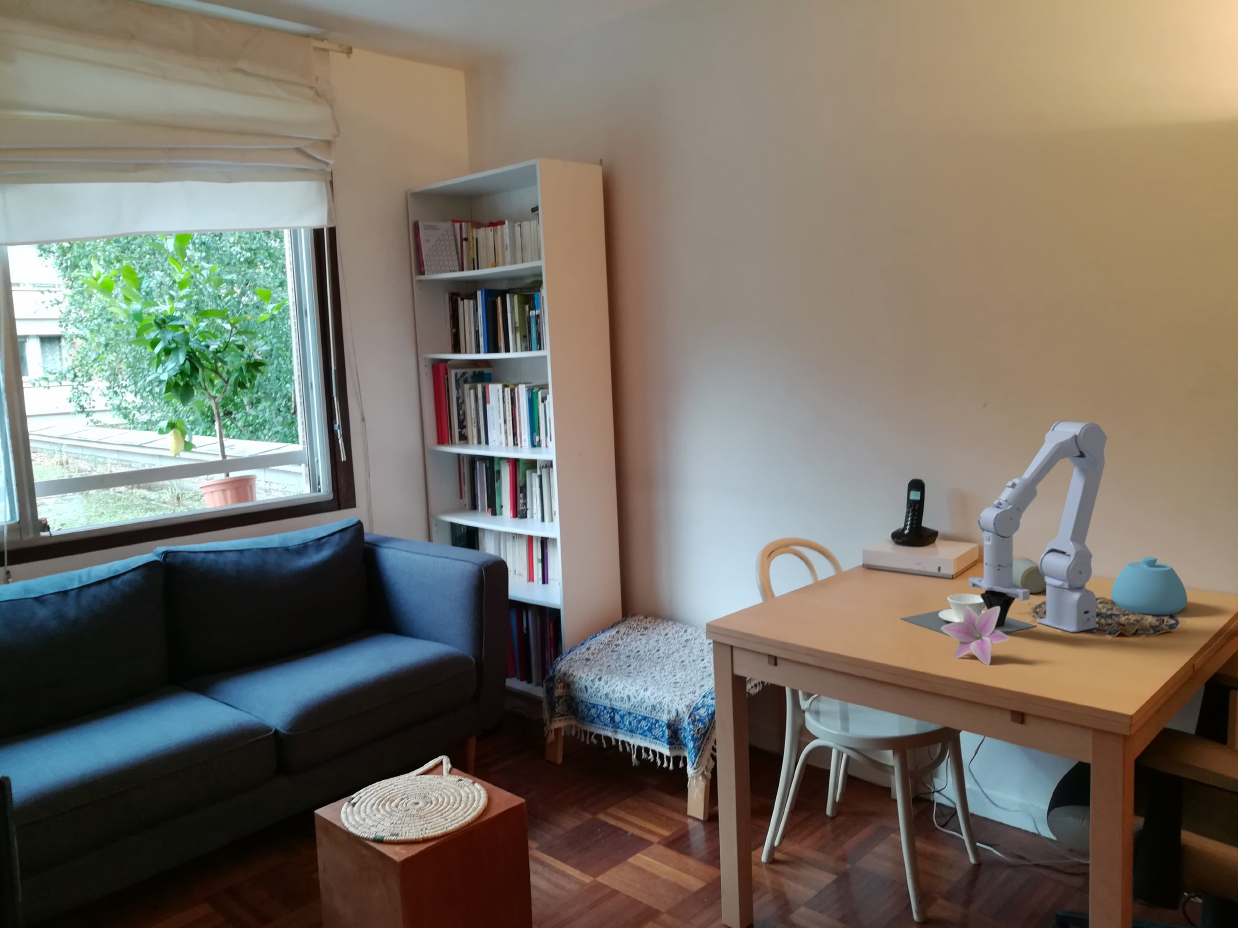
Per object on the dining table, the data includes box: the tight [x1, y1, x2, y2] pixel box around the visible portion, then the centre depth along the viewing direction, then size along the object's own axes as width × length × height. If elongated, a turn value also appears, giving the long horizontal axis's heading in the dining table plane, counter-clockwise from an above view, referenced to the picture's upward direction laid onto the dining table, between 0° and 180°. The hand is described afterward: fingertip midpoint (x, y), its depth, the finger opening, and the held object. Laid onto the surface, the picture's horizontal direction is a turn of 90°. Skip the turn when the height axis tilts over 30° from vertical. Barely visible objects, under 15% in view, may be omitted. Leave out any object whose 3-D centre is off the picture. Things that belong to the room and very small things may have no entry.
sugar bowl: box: [1110, 556, 1188, 616], centre depth 209 cm, size 15×15×12 cm
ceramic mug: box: [1013, 556, 1046, 594], centre depth 227 cm, size 11×8×8 cm
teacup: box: [939, 593, 986, 622], centre depth 203 cm, size 12×12×5 cm
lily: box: [941, 606, 1011, 666], centre depth 182 cm, size 12×12×10 cm
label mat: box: [900, 607, 1037, 637], centre depth 204 cm, size 20×20×1 cm
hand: (998, 625), depth 196 cm, fingers closed
